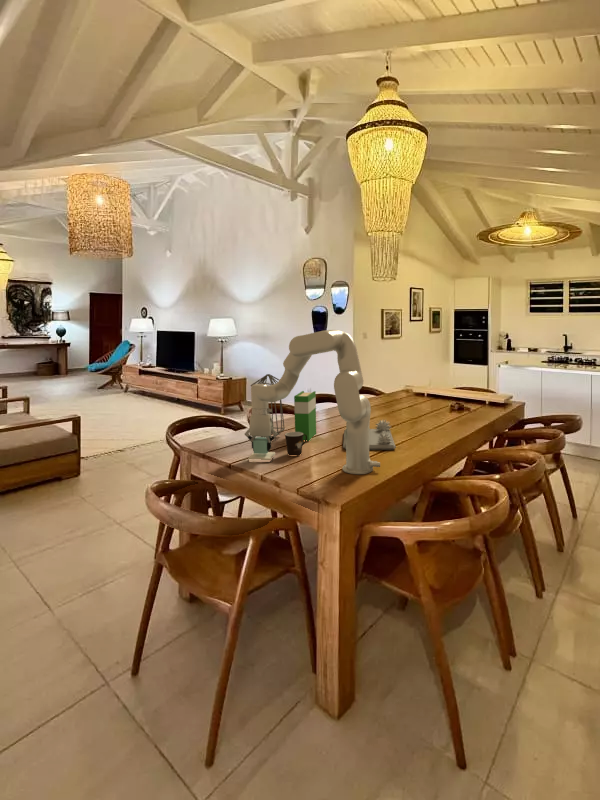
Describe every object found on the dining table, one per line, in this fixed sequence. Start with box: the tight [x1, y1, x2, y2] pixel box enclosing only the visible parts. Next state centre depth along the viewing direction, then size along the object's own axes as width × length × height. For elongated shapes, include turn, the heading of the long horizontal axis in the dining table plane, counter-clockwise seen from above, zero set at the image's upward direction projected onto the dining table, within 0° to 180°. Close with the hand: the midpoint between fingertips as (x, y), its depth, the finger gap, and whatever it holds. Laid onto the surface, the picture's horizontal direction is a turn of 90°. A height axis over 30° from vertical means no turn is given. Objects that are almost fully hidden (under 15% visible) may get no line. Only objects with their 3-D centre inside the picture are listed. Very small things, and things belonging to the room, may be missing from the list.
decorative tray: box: [342, 419, 396, 451], centre depth 234 cm, size 35×26×10 cm
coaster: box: [248, 451, 276, 460], centre depth 207 cm, size 10×10×2 cm
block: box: [252, 437, 270, 454], centre depth 206 cm, size 6×6×6 cm
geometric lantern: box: [250, 373, 285, 439], centre depth 242 cm, size 16×16×35 cm
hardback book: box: [293, 390, 317, 441], centre depth 243 cm, size 18×7×24 cm, turn 166°
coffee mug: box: [284, 431, 307, 455], centre depth 213 cm, size 12×9×10 cm
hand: (261, 449), depth 207 cm, fingers closed on block, 6 cm apart
